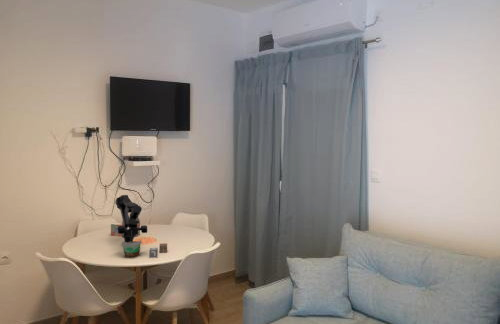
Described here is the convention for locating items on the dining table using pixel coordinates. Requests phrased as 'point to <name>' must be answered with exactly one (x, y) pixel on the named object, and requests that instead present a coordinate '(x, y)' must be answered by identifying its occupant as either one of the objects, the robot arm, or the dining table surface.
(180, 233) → the dining table surface
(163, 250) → the walnut block numbered 1
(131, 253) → the food container
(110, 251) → the dining table surface
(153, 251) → the charcoal block numbered 7
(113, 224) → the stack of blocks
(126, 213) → the robot arm
